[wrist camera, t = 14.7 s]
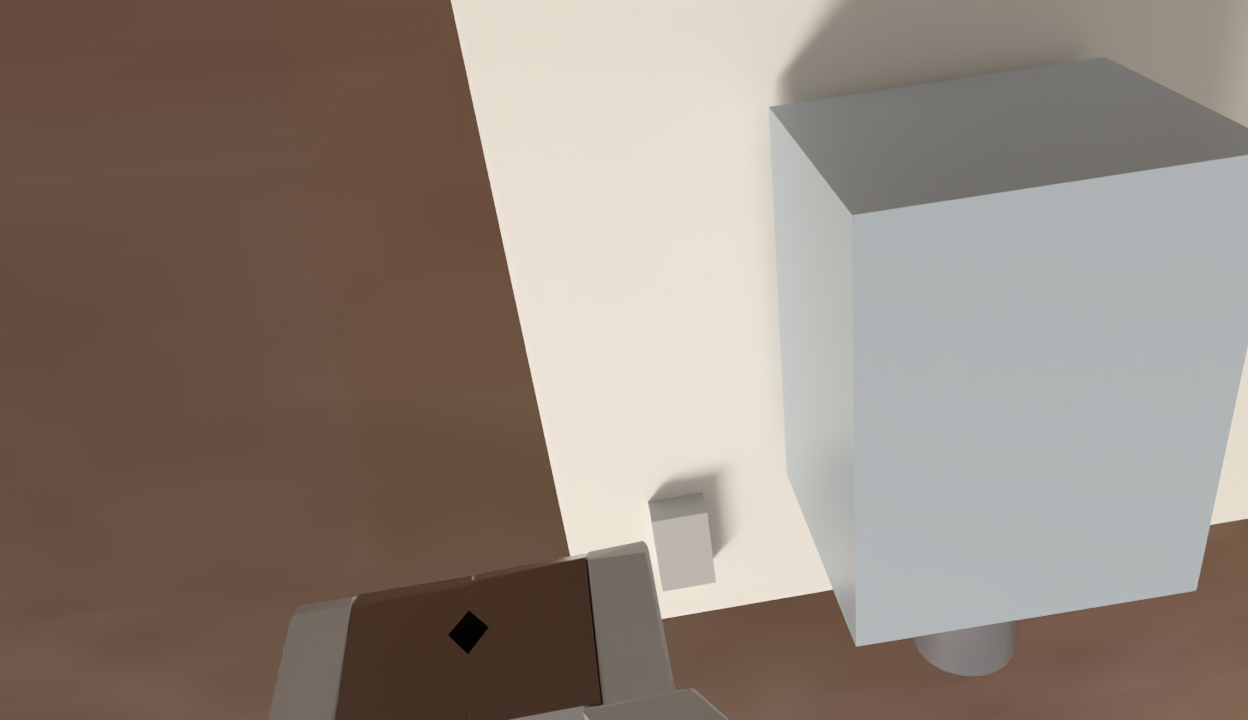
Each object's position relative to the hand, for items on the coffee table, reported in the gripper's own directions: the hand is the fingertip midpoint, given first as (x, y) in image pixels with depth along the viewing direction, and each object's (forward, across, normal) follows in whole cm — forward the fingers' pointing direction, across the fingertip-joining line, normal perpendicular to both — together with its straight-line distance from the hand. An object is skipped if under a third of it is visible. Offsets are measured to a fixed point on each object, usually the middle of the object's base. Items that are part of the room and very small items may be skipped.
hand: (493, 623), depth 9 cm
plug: (+14, -8, +6) cm, 17 cm away
